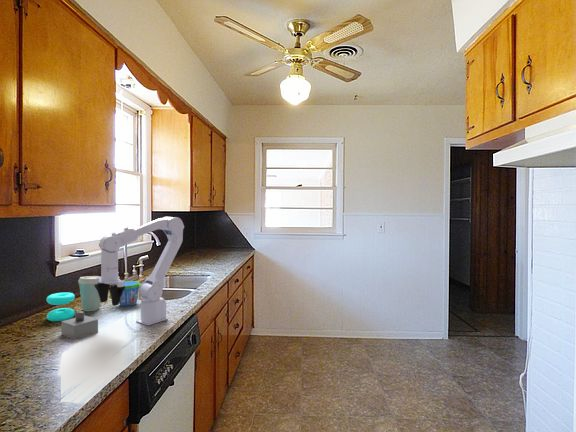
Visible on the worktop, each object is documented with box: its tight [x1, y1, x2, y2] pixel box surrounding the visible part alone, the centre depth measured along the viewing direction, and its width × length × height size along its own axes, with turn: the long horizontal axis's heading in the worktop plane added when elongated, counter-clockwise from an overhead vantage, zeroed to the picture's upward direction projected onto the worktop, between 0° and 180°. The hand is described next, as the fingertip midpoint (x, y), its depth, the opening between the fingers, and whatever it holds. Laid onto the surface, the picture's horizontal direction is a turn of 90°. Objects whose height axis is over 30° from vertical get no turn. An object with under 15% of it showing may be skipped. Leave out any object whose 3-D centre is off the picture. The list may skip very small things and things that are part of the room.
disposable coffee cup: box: [77, 275, 102, 312], centre depth 161 cm, size 11×11×15 cm
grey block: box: [60, 310, 99, 340], centre depth 131 cm, size 9×9×8 cm
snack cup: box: [109, 280, 142, 307], centre depth 170 cm, size 16×10×10 cm
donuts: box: [46, 292, 76, 322], centre depth 148 cm, size 10×10×10 cm
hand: (109, 303), depth 135 cm, fingers open, 7 cm apart
